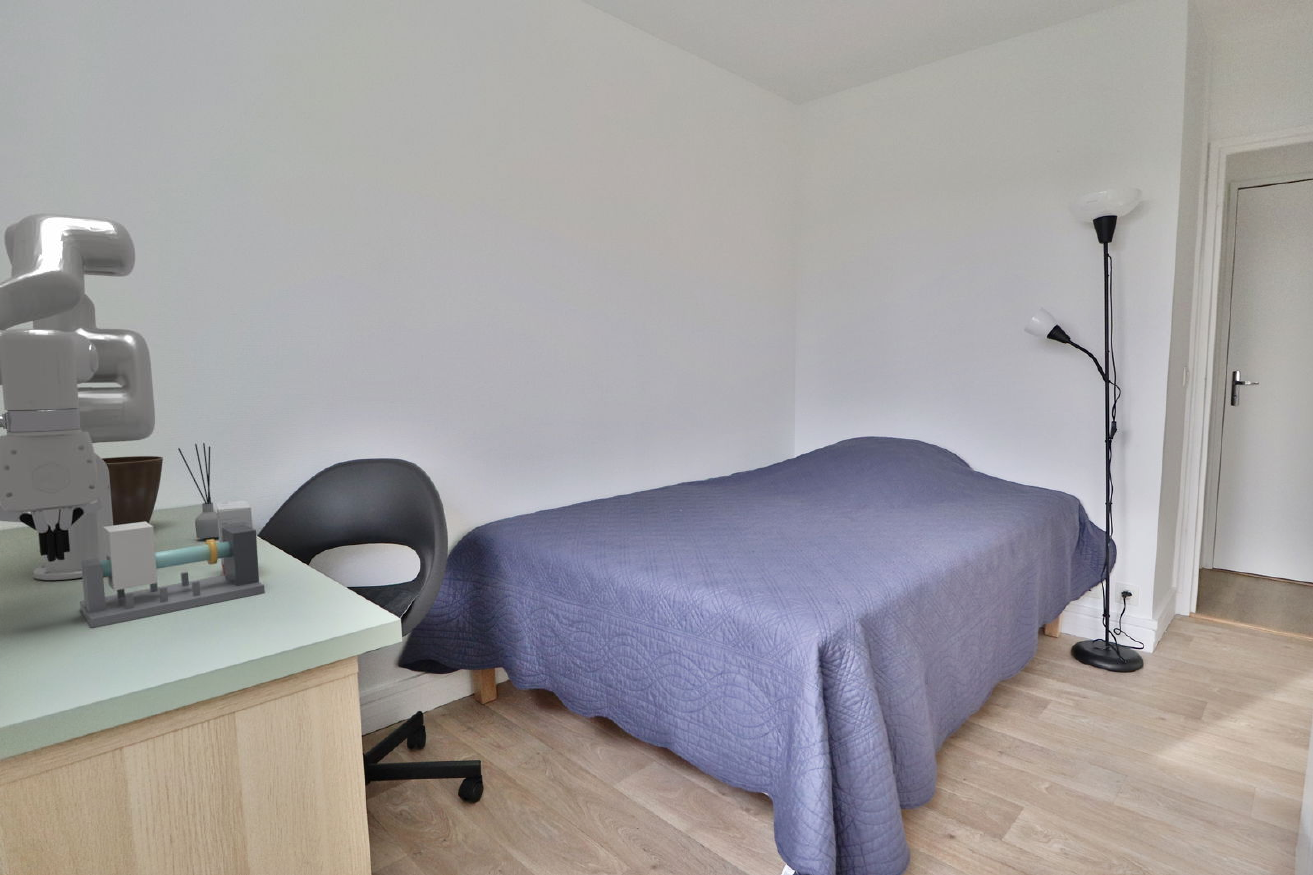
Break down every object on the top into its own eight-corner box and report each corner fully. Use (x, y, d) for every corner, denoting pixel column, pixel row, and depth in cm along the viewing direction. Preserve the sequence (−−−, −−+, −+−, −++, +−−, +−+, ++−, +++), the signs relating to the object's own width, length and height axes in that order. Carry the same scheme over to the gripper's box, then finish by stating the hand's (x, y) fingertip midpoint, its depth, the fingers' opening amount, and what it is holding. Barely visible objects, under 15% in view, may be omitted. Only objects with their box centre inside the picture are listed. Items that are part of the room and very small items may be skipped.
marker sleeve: (113, 590, 98) (109, 532, 98) (107, 583, 102) (103, 526, 101) (157, 582, 102) (153, 526, 101) (149, 575, 106) (145, 521, 105)
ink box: (257, 576, 118) (253, 506, 117) (222, 581, 116) (217, 510, 115) (253, 565, 126) (249, 499, 125) (220, 570, 123) (215, 502, 122)
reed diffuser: (231, 540, 146) (224, 442, 144) (192, 546, 141) (185, 445, 139) (214, 533, 153) (208, 440, 151) (176, 539, 147) (169, 442, 146)
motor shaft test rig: (91, 627, 95) (86, 558, 94) (80, 609, 102) (75, 545, 102) (264, 592, 109) (261, 532, 109) (243, 578, 117) (239, 522, 116)
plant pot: (125, 524, 163) (120, 455, 161) (184, 526, 161) (179, 455, 159) (63, 539, 148) (56, 463, 147) (126, 541, 146) (120, 463, 144)
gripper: (-34, 428, 86) (-20, 575, 88) (118, 421, 97) (128, 553, 98) (-35, 425, 92) (-22, 565, 93) (109, 419, 102) (119, 545, 104)
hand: (55, 558), depth 96 cm, fingers closed
